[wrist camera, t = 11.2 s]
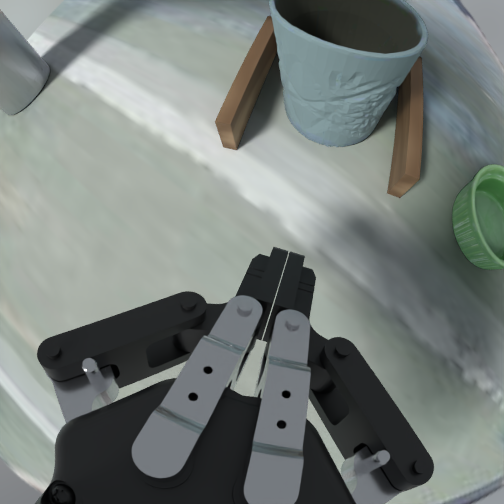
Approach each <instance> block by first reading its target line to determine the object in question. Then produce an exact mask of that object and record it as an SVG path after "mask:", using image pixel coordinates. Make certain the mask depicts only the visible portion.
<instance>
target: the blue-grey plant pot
mask: <svg viewBox="0 0 504 504" xmlns="http://www.w3.org/2000/svg"><path fill="white" fill-rule="evenodd" d="M269 6H270V12H271V17H272V22H273V27H274V33H275V37H276V43H277V52H278V56H279V59H280V61H279V68H280V72H281V75H280V76H281V81H282V85H283V87H284V91H283V96H284V104H285V110H286V113H287V116H288V118H289V120H290V122H291V124H292V125H293V126H294V127H295V129H297V130H298V131H299V132H300V133H301V134H302V135H304V136H305V137H306V138H308V139H309V140H312V141H314V142H317V143H319V144H323V145H326V146H330V147H331V146H336V147H339V146H341V147H344V146H349V145H353V144H356V143H358V142H361V141H362V140H364V139H366V138H367V137H368V136H369V135H370V134H371V133H372V132H373V130H374V129H375V127H376V125H377V124H378V122H379V120H380V118H381V116H382V115H383V112H384V111H385V110H386V109H387V107H388V105H389V104H390V102H391V100H392V99H393V97H394V96H395V94H396V88H397V87H398V86H400V85H401V83H402V82H403V81H404V79H405V78H406V76H407V74H408V73H409V71H410V70H411V68H412V66H413V65H414V63H415V62H416V60H417V59H418V57H419V55H420V54H421V52H422V51H423V49H424V47H425V46H426V44H427V41H428V32H427V28H426V26H425V23H424V22H423V20H422V19H421V17H420V16H419V14H418V13H417V12H416V11H415V10H414V9H413V8H412V7H411V6H410V5H409V4H408V3H406V2H405V1H404V0H270V1H269Z"/></svg>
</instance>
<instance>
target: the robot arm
mask: <svg viewBox="0 0 504 504" xmlns="http://www.w3.org/2000/svg"><path fill="white" fill-rule="evenodd" d="M49 73H50V68H49V66H48V65H47V64H46V62H45V61H44V60H43V59H42V58H41V57H40V56H39V54H38V53H37V52H36V51H35V50H34V48H33V47H32V46H31V45H30V44H29V43H28V41H27V40H26V39H25V38H24V37H23V36H22V35H21V34H20V32H19V31H18V30H17V29H16V28H15V26H14V25H13V24H12V23H11V22H10V20H8V18H7V17H6V16H5V15H4V13H3V12H2V11H1V10H0V109H1V110H2V111H4V112H5V113H6V114H8V115H13V114H16V113H18V112H20V111H21V110H22V109H24V108H25V107H26V106H27V105H28V104H29V103H30V102H31V101H32V100H33V99H34V98H35V97H36V96H37V95H38V93H39V92H40V91H41V89H42V88H43V86H44V85H45V83H46V81H47V79H48V77H49ZM287 255H288V251H286V250H283V249H280V248H276V247H273V250H272V252H271V255H270V257H268V256H265V255H262V254H259V255H257V256H256V257H255V258H253V259H252V261H251V263H250V265H249V268H248V270H247V272H246V274H245V276H244V279H243V281H242V283H241V285H240V288H239V290H238V292H237V294H236V296H235V297H233V298H232V299H230V300H229V302H227V303H224V304H207V303H206V301H205V299H204V298H203V297H202V296H201V295H199V294H197V293H195V292H189V291H188V292H181V293H178V294H175V295H172V296H169V297H167V298H164V299H161V300H158V301H155V302H152V303H149V304H147V305H144V306H141V307H138V308H135V309H132V310H129V311H126V312H123V313H121V314H118V315H115V316H112V317H109V318H106V319H103V320H100V321H97V322H94V323H91V324H88V325H85V326H82V327H79V328H77V329H74V330H71V331H68V332H65V333H62V334H59V335H56V336H53V337H50V338H47V339H46V340H44V341H43V342H42V343H41V345H40V346H39V348H38V352H37V357H38V360H39V362H40V364H41V365H42V367H43V368H44V370H45V372H46V374H47V376H48V377H49V378H50V380H51V381H52V383H53V385H54V389H55V392H56V395H57V398H58V401H59V404H60V407H61V410H62V413H63V416H64V418H65V421H66V424H65V425H64V426H63V427H62V429H61V430H60V432H59V434H58V436H57V439H56V443H55V469H54V474H53V478H52V481H51V483H50V485H49V486H48V488H47V489H46V490H45V492H44V493H43V494H42V495H41V497H40V498H39V499H38V500H37V502H36V503H35V504H385V503H387V502H388V501H389V500H391V499H392V498H393V497H395V496H396V495H397V494H399V493H401V492H404V491H407V490H409V489H412V488H415V487H417V486H420V485H422V484H424V483H426V482H427V481H428V480H429V479H430V478H431V476H432V474H433V470H434V464H433V460H432V458H431V456H430V455H429V453H428V452H427V450H426V449H425V447H424V446H423V444H422V443H421V441H420V440H419V438H418V437H417V435H416V434H415V432H414V431H413V429H412V428H411V426H410V425H409V423H408V422H407V420H406V419H405V417H404V416H403V414H402V413H401V411H400V410H399V408H398V407H397V406H396V404H395V403H394V401H393V400H392V398H391V397H390V395H389V394H388V392H387V391H386V390H385V388H384V387H383V385H382V384H381V382H380V381H379V379H378V378H377V377H376V375H375V374H374V372H373V371H372V369H371V368H370V367H369V365H368V364H367V362H366V361H365V359H364V358H363V357H362V355H361V354H360V352H359V351H358V350H357V348H356V347H355V345H354V344H353V343H352V342H350V341H349V340H347V339H345V338H341V337H334V338H331V339H330V340H327V339H326V338H324V337H322V336H320V335H319V334H318V333H316V332H315V331H314V330H313V328H312V327H311V325H310V321H309V316H310V311H311V305H312V299H313V293H314V286H315V280H316V277H315V274H314V272H313V270H312V269H309V268H306V267H303V262H304V258H305V256H303V255H300V254H297V253H293V252H290V253H289V256H288V260H287V263H286V266H285V270H284V273H283V276H282V280H281V283H280V286H279V289H278V293H277V296H276V299H275V303H274V306H273V309H272V312H271V316H270V319H269V322H268V325H267V328H266V332H265V335H264V338H263V341H266V342H267V344H266V347H265V351H264V353H263V356H262V361H261V365H260V370H259V375H258V379H257V384H256V388H255V393H254V396H253V397H250V396H242V395H240V394H238V393H237V392H235V391H234V388H235V386H236V384H237V381H238V379H239V377H240V375H241V373H242V371H243V368H244V366H245V364H246V362H247V360H248V358H249V355H250V353H251V350H252V349H253V348H254V345H255V342H256V339H259V340H261V339H262V336H263V333H264V330H265V327H266V323H267V320H268V317H269V314H270V311H271V308H272V304H273V301H274V298H275V295H276V291H277V288H278V285H279V282H280V278H281V275H282V272H283V268H284V265H285V262H286V258H287ZM187 360H188V361H187ZM185 361H187V363H186V364H185V366H184V367H183V369H182V371H181V372H180V374H179V376H178V377H177V378H173V379H168V380H164V381H161V382H158V383H156V384H154V385H152V386H150V387H147V388H145V389H143V390H141V391H139V392H136V393H134V394H132V395H130V396H127V397H125V398H123V399H120V400H118V401H116V402H113V401H114V400H115V399H116V398H117V396H118V393H119V388H122V387H124V386H127V385H129V384H132V383H135V382H137V381H140V380H142V379H145V378H147V377H149V376H152V375H154V374H157V373H159V372H162V371H164V370H166V369H169V368H171V367H173V366H176V365H178V364H180V363H183V362H185ZM308 397H309V399H310V401H311V403H312V404H313V406H314V408H315V409H316V411H317V413H318V415H319V416H320V418H321V420H322V421H323V423H324V425H325V427H326V428H327V430H328V432H329V433H330V435H331V437H332V439H333V440H334V442H335V444H336V445H337V447H338V449H339V450H340V452H341V454H342V455H343V457H344V459H345V461H344V462H343V464H342V467H341V474H342V476H341V474H340V473H339V471H338V469H337V467H336V465H335V463H334V461H333V460H332V458H331V456H330V454H329V452H328V450H327V448H326V446H325V444H324V443H323V441H322V439H321V437H320V435H319V433H318V431H317V430H316V428H315V427H314V426H313V425H312V424H311V422H310V421H308V420H307V419H306V415H307V406H308ZM112 402H113V403H112ZM110 403H111V404H110ZM108 404H109V405H108ZM342 477H343V478H342Z"/></svg>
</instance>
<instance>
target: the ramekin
mask: <svg viewBox="0 0 504 504" xmlns="http://www.w3.org/2000/svg"><path fill="white" fill-rule="evenodd" d="M452 222H453V229H454V234H455V237H456V240H457V242H458V245H459V247H460V249H461V250H462V252H463V254H464V255H465V256H466V258H467V259H468V260H469V261H470V262H471V263H473V264H474V265H476V266H477V267H479V268H482V269H487V270H493V269H504V167H503V166H500V165H495V164H491V165H487V166H485V167H483V168H482V169H480V170H479V171H478V173H477V174H476V175H475V177H474V178H473V180H472V181H471V182H470V183H468V184H467V185H466V186H465V187H464V188H463V189H462V190H461V191H460V193H459V194H458V196H457V197H456V200H455V202H454V205H453V212H452Z"/></svg>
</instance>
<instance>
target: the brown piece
mask: <svg viewBox="0 0 504 504" xmlns="http://www.w3.org/2000/svg"><path fill="white" fill-rule="evenodd" d="M276 53H277V43H276V37H275V33H274V27H273V22H272V17H271V16H268V17H267V19H266V20H265V22H264V24H263V26H262V28H261V29H260V31H259V33H258V35H257V37H256V39H255V41H254V42H253V44H252V46H251V48H250V50H249V52H248V54H247V56H246V58H245V60H244V62H243V64H242V66H241V68H240V70H239V72H238V74H237V76H236V78H235V80H234V82H233V84H232V86H231V88H230V90H229V92H228V94H227V97H226V99H225V101H224V103H223V105H222V107H221V110H220V112H219V114H218V116H217V118H216V121H215V123H216V126H217V129H218V132H219V135H220V138H221V141H222V144H223V147H225V148H229V149H234V150H237V148H238V146H239V143H240V141H241V138H242V135H243V133H244V130H245V128H246V125H247V123H248V120H249V118H250V115H251V113H252V110H253V108H254V105H255V103H256V100H257V98H258V96H259V93H260V91H261V88H262V86H263V83H264V81H265V79H266V76H267V74H268V72H269V69H270V67H271V65H272V62H273V60H274V58H275V55H276ZM422 135H423V73H422V58H421V57H418V59H417V60H416V62H415V63H414V65H413V66H412V68H411V70H410V71H409V73H408V74H407V76H406V78H405V79H404V81H403V82H402V83H401V85H400V86H399V90H398V106H397V119H396V130H395V139H394V148H393V157H392V164H391V172H390V178H389V185H388V191H387V193H388V194H390V195H393V196H396V197H399V198H400V197H401V196H403V195H404V194H405V193H406V192H407V191H408V190H409V189H410V188H411V187H412V186H413V185H414V184H415V183H416V182H417V181H419V178H420V167H421V154H422Z"/></svg>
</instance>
